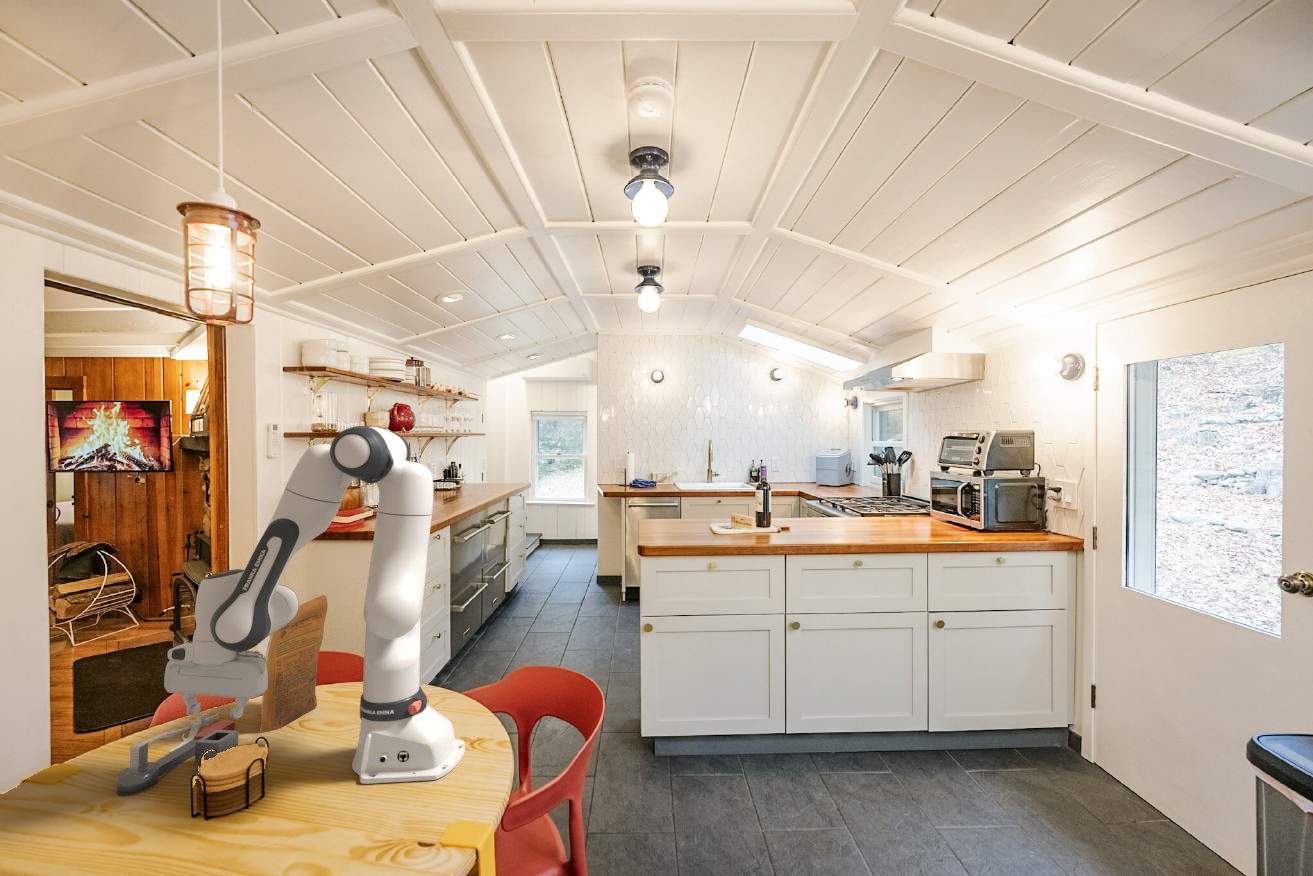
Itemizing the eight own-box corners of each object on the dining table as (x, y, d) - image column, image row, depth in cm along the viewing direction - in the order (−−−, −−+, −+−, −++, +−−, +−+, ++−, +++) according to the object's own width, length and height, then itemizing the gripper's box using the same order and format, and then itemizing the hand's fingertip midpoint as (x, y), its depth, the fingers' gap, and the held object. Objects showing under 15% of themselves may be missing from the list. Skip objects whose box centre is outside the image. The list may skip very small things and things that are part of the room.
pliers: (131, 744, 121) (194, 711, 136) (130, 751, 121) (194, 718, 136) (172, 747, 120) (231, 714, 135) (172, 754, 120) (231, 720, 135)
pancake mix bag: (334, 701, 145) (337, 593, 146) (271, 738, 127) (275, 615, 127) (312, 698, 147) (315, 592, 147) (246, 735, 128) (250, 612, 128)
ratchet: (239, 732, 129) (241, 697, 129) (136, 796, 105) (138, 753, 105) (215, 730, 129) (216, 696, 130) (107, 794, 106) (108, 752, 106)
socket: (237, 759, 118) (238, 730, 118) (217, 773, 113) (218, 743, 113) (215, 758, 118) (216, 729, 118) (194, 771, 113) (195, 742, 114)
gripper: (277, 646, 119) (273, 712, 118) (187, 640, 120) (183, 705, 120) (254, 657, 112) (249, 726, 112) (159, 650, 114) (154, 718, 113)
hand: (214, 715), depth 116 cm, fingers open, 8 cm apart
